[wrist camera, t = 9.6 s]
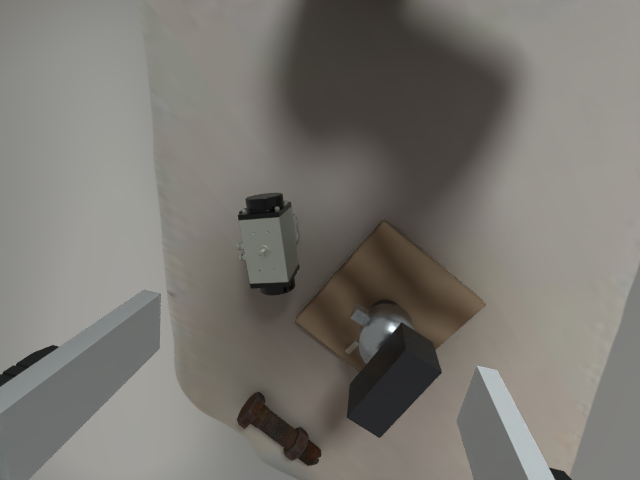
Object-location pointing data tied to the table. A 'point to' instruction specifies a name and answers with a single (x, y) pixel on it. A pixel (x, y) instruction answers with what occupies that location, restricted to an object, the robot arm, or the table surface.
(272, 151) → the table surface
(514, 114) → the table surface
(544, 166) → the table surface
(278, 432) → the bolt
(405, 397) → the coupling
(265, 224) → the pneumatic valve
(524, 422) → the robot arm
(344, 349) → the base
